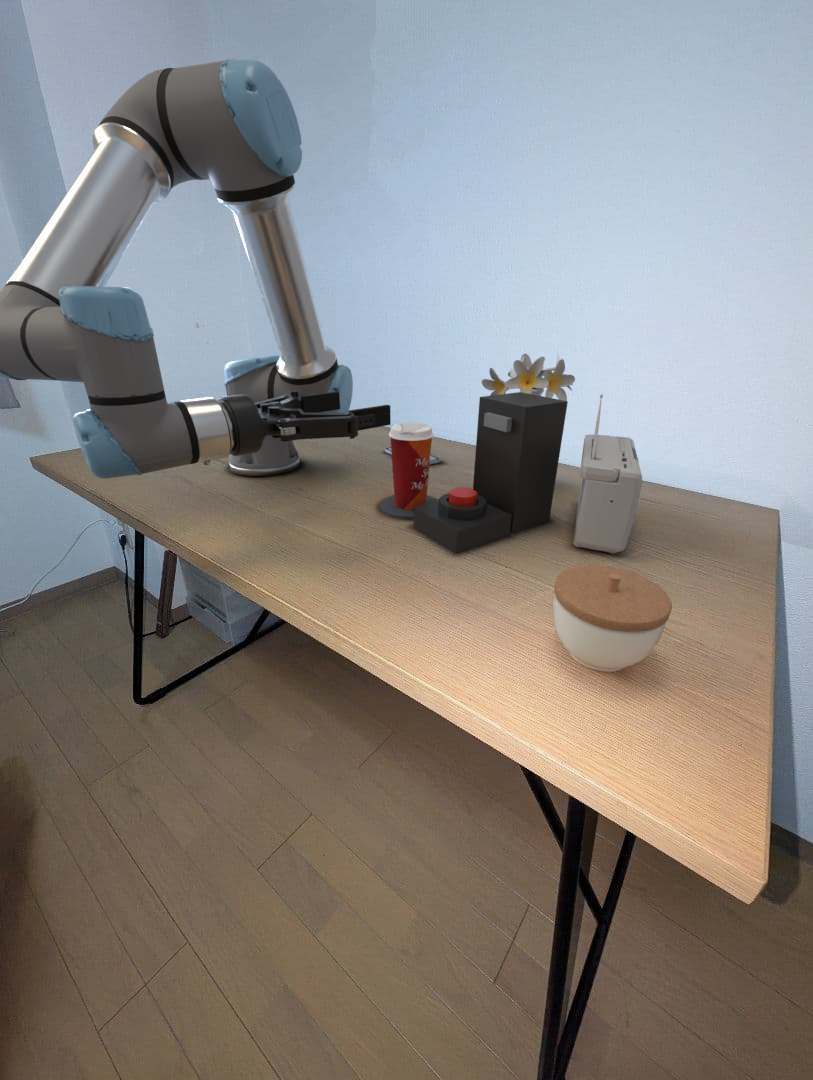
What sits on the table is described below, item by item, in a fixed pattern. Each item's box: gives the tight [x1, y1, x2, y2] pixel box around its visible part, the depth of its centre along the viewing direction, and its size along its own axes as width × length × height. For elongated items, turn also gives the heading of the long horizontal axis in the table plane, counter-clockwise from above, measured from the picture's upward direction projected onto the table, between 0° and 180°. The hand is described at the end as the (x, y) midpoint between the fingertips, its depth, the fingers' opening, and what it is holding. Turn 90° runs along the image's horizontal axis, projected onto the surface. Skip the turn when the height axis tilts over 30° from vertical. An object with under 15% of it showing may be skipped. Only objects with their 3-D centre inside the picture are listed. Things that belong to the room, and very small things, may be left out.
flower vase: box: [481, 352, 576, 401], centre depth 92 cm, size 13×18×25 cm
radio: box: [573, 393, 643, 555], centre depth 74 cm, size 21×8×20 cm, turn 160°
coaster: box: [379, 494, 439, 520], centre depth 85 cm, size 11×11×1 cm
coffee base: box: [413, 492, 512, 554], centre depth 75 cm, size 11×11×6 cm
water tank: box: [472, 391, 569, 534], centre depth 77 cm, size 10×10×20 cm
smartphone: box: [384, 446, 441, 465], centre depth 114 cm, size 7×1×15 cm
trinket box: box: [552, 564, 673, 673], centre depth 48 cm, size 11×11×9 cm
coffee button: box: [448, 487, 477, 506], centre depth 74 cm, size 4×4×2 cm
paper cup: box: [388, 422, 435, 510], centre depth 82 cm, size 8×8×14 cm
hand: (362, 407), depth 72 cm, fingers open, 13 cm apart
